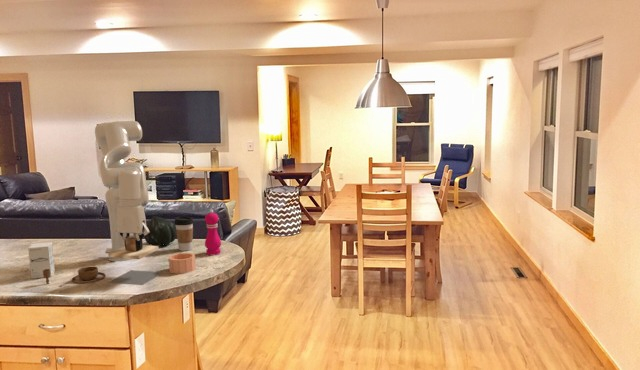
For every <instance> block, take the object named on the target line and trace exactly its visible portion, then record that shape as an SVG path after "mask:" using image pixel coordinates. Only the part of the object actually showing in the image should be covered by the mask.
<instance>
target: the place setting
mask: <svg viewBox="0 0 640 370" xmlns="http://www.w3.org/2000/svg"><path fill="white" fill-rule="evenodd" d="M77 272H78V273H77V274H78V275H75V276H73V277H72V278H71V283H73V284H76V285H77V284H78V285H79V284H80V285H83V284H91V283H96V282H99V281H102V280H104V279H105V278H106V273H105V272H102V271H101V272H100V271H99V268H98V267H97V266H85V267H81V268H79V269H78V270H77ZM99 275H101V276H102V277H101V278H98V279H96V278H97V277H98V276H99ZM43 276H44V277H43V278H45V282H46V285H49V284H50V278H51V277H50V269H45V270H43ZM79 279H80V280H82V281H77V280H79ZM58 287H59V288H61V287H63V285H59V286H58Z"/></svg>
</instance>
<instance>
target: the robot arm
mask: <svg viewBox="0 0 640 370" xmlns="http://www.w3.org/2000/svg"><path fill="white" fill-rule="evenodd" d="M94 135H95V140H96V142H97V145H98V147H99V149H100V151H101V153H102V155H103V156H102V157H101V160H100V163H99V171H100V177H101V181H102V184H103V186H104V187H105V188H109V189H108V190H107V191H106V192H105V194H104V196H105V203H106V208H107V211H108V217H109V228H110V242H111V247H107V248H106V250H105V254H109V253H111V252H113V251H115V250H118V249H120V248H122V247H124V246H125V250H126V241H125V238H127V237H129V236H136V238H137V241H136V250H137V251H139V250H141V249H142V247H143V245H144V244H143V239H145V236H146V235H147V234H148V233H150V231H149V230H148V228H147V219H146V214H145V209H144V207H146V206H147V205H148V204H149V190H148V185H147V178H146V172H145V166H144V165H143V164H142V163H141V162H137V161H134V162H133V161H132V162H127V161H126V159H127V157H129V156H130V155H131V152H132V146H131V143H130V142H139V141H142V138H143V128H142V126H141V124H140V123H139V122H138V121H136V120H121V121H120V120H115V121H112V122H111V121H109V122H102V123H99V124H97V125H96V126H95V128H94ZM131 260H133V259H129V258H116V257H109V256H108V261H110V262H113V263H116V262H126V261H131Z"/></svg>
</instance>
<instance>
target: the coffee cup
mask: <svg viewBox="0 0 640 370" xmlns="http://www.w3.org/2000/svg"><path fill="white" fill-rule="evenodd" d="M193 224H194V218H193V217H190V216H177V217H175V218H174V226H175V228H176V238H177V243H178V250H179V251H180V252H188V251H191V250H193V237H194V233H193V232H194V225H193Z"/></svg>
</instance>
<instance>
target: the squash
mask: <svg viewBox="0 0 640 370" xmlns="http://www.w3.org/2000/svg"><path fill="white" fill-rule="evenodd" d="M146 226H147V228H148V230H149V231H150V233H148V234H147V235H146V236H145V237H144V240H145V242H146V243H147V245H150V246H158V247H163V246H165V247H166V246H168V245H169V246H170V244H171V243H174V241H175V240H176V238H177V233H176V225H175V223H173V222H172V221H170V220H168V219H166V218H163V217H161V216H152V217H151V219H150V221H149V222H148V223H147V224H146Z"/></svg>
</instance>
